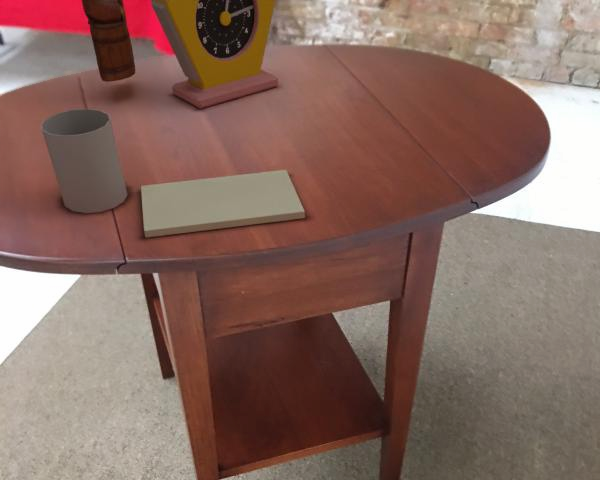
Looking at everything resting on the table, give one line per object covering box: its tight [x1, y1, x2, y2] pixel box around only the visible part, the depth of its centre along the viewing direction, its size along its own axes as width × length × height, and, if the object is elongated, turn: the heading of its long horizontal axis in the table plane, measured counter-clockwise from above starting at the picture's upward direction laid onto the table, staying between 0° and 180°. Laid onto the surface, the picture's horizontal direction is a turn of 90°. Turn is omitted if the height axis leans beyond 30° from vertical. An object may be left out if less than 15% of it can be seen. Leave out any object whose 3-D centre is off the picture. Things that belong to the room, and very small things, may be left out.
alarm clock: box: [150, 0, 279, 110], centre depth 105 cm, size 22×9×22 cm, turn 128°
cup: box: [40, 108, 128, 214], centre depth 81 cm, size 8×8×10 cm
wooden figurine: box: [81, 0, 136, 83], centre depth 104 cm, size 12×6×18 cm, turn 9°
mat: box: [140, 169, 306, 238], centre depth 83 cm, size 20×12×1 cm, turn 102°
